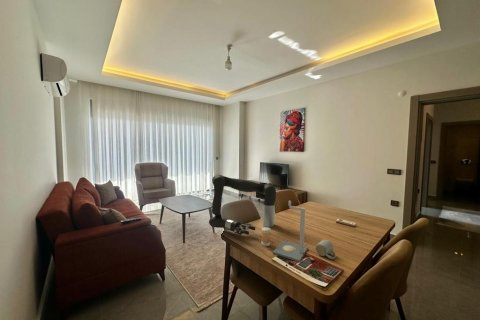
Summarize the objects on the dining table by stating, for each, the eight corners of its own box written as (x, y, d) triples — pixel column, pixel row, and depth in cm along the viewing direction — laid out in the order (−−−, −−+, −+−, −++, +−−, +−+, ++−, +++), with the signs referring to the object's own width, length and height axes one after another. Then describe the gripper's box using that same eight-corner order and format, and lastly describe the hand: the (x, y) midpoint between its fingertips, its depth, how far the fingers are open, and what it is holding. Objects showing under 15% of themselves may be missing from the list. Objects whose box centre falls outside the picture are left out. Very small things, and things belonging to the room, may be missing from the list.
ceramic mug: (314, 253, 120) (314, 241, 119) (321, 249, 125) (321, 237, 125) (331, 261, 112) (332, 248, 111) (338, 256, 117) (339, 244, 116)
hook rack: (283, 241, 135) (284, 196, 133) (307, 248, 126) (309, 200, 124) (272, 253, 119) (273, 202, 118) (299, 262, 111) (301, 207, 109)
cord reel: (263, 240, 136) (263, 226, 135) (271, 243, 133) (272, 228, 132) (259, 244, 131) (259, 229, 130) (267, 246, 128) (268, 231, 127)
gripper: (226, 223, 140) (246, 229, 131) (238, 217, 152) (257, 222, 143) (226, 234, 140) (246, 240, 132) (238, 227, 152) (256, 232, 143)
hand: (252, 230), depth 137 cm, fingers open, 8 cm apart
